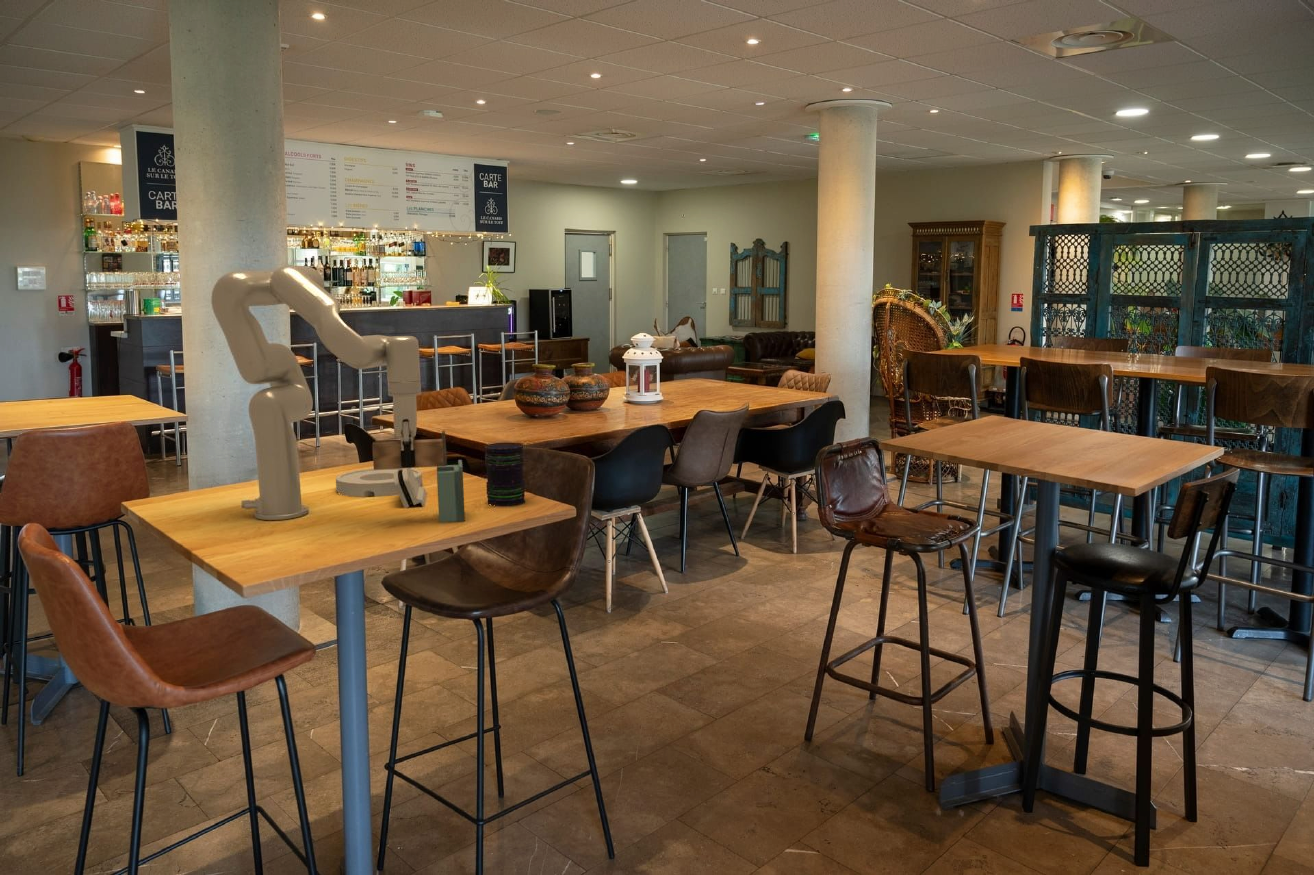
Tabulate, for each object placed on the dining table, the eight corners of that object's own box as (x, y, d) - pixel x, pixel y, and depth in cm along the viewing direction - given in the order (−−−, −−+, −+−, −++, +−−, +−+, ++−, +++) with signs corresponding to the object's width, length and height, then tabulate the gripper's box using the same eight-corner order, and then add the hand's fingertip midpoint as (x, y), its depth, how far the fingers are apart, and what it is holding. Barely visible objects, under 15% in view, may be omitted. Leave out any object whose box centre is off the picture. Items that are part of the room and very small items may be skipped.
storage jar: (499, 508, 245) (496, 450, 242) (479, 502, 252) (477, 445, 250) (532, 502, 251) (531, 445, 249) (512, 496, 258) (510, 441, 256)
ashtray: (320, 490, 271) (319, 476, 270) (393, 477, 288) (392, 464, 287) (365, 502, 255) (364, 487, 255) (439, 488, 272) (438, 473, 272)
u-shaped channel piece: (439, 522, 231) (436, 468, 229) (439, 513, 240) (436, 461, 238) (464, 521, 232) (462, 466, 230) (463, 512, 241) (461, 459, 239)
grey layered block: (424, 507, 247) (409, 471, 245) (407, 514, 247) (391, 478, 245) (427, 493, 264) (412, 459, 261) (410, 500, 263) (395, 466, 261)
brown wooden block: (373, 469, 228) (371, 436, 227) (374, 466, 232) (372, 433, 231) (446, 466, 232) (445, 432, 231) (446, 463, 236) (445, 430, 234)
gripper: (389, 385, 236) (394, 460, 239) (386, 393, 220) (390, 472, 223) (421, 384, 238) (425, 458, 241) (420, 391, 222) (424, 470, 225)
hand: (408, 464), depth 232 cm, fingers closed on brown wooden block, 4 cm apart
